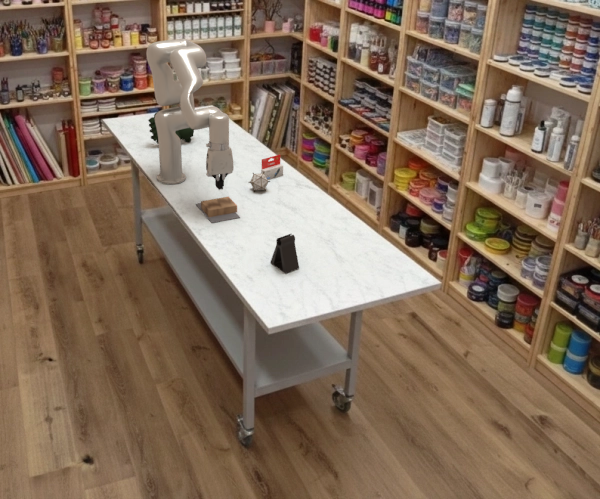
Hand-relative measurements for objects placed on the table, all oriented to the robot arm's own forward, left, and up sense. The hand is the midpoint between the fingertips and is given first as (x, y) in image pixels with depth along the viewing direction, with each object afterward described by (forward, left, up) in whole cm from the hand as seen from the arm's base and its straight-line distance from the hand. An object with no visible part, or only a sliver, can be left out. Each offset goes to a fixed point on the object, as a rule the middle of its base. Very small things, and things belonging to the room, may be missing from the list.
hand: (219, 188), depth 280 cm
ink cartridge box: (-22, +34, -10) cm, 42 cm away
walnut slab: (0, +6, -8) cm, 10 cm away
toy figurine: (-76, +7, -10) cm, 77 cm away
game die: (-12, +23, -10) cm, 28 cm away
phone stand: (+49, +5, -10) cm, 50 cm away
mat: (0, -1, -10) cm, 10 cm away
